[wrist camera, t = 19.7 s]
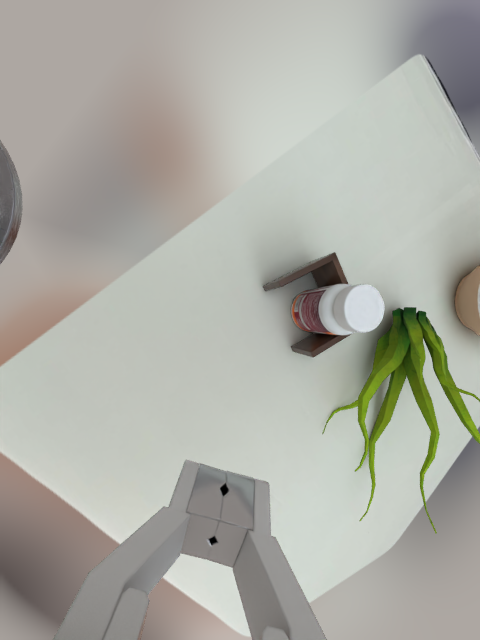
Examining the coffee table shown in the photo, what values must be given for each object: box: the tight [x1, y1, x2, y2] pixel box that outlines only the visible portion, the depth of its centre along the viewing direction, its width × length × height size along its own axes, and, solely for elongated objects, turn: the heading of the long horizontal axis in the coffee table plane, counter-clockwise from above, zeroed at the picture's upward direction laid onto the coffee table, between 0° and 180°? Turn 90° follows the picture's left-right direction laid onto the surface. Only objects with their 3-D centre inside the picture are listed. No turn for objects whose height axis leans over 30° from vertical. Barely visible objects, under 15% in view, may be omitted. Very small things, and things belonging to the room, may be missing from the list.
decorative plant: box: [322, 307, 480, 533], centre depth 33 cm, size 18×30×15 cm, turn 137°
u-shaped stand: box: [263, 252, 351, 357], centre depth 34 cm, size 11×9×6 cm
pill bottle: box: [291, 284, 384, 335], centre depth 31 cm, size 6×6×11 cm
